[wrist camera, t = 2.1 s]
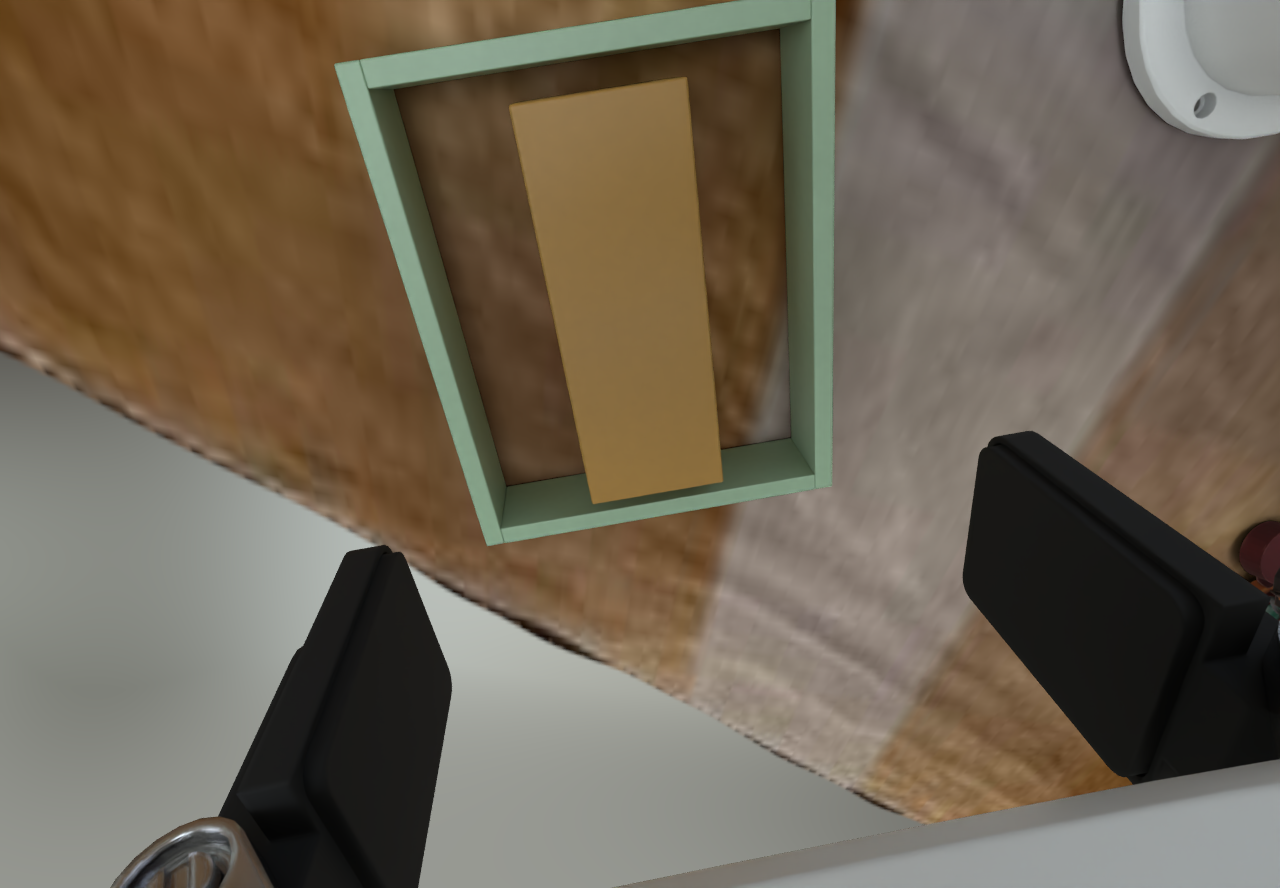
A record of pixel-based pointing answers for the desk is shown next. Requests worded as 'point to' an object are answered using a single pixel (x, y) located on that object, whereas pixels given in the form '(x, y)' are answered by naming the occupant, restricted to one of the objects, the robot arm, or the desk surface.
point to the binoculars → (1264, 562)
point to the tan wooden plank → (626, 281)
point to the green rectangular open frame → (808, 118)
